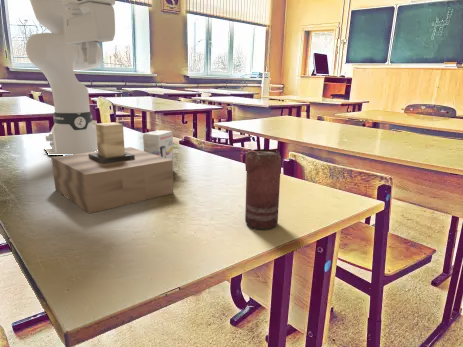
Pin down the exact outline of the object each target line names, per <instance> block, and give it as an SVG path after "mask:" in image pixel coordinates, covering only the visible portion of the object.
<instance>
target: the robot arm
mask: <svg viewBox="0 0 463 347" xmlns="http://www.w3.org/2000/svg"><path fill="white" fill-rule="evenodd" d="M29 1H30V5H31V7H32V10H33V13H34V16H35V19H36V21H37V22H38V23H39V24H40V25H41V26H43V27H44V28H45V29H47V30H48V31H49V32H39V33H35V34H31V35H30V36H29V37H28V39H27V41H26V44H25V51H26V56H27V58H28V60H29V61H30V62H31V64H32V65H34V66H35V67H36V68H38V70H40V71H41V72H42V74H43V75H44V76H45V78H46V79H47V81H48V83H49V86H50V89H51V94H52V99H53V108H54V112H53V117H52V118H53V123H54V124H53V126H52V127H51V130H50V132H49V133H48V134H45V141H46V142H49V145H50V146H51V147H52V149H46V151H47V152H48V153H49V154H81V153H89V152H95V151H97V150H98V146H97V134H96V125H94V124H93V115H92V111H91V106H90V96H89V90H88V88H87V86H86V85H85V84H83V83H82V82H80V81H79V79H77V76H76V74H75V71H87V70H92V69H96V68H98V67H99V66H100V65H101V64H102V61H103V50H102V47H101V46H100V44H99V43H107V42H112V41H114V39H115V36H116V17H115V16H116V15H115V9H114V5H115V4H116V0H29ZM46 151H45V152H46Z"/></svg>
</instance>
